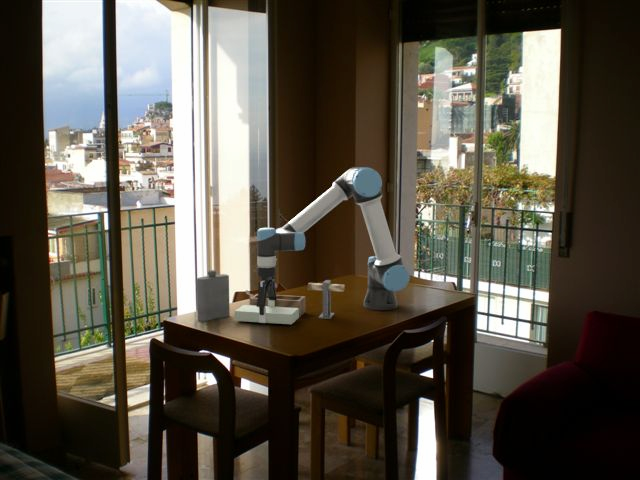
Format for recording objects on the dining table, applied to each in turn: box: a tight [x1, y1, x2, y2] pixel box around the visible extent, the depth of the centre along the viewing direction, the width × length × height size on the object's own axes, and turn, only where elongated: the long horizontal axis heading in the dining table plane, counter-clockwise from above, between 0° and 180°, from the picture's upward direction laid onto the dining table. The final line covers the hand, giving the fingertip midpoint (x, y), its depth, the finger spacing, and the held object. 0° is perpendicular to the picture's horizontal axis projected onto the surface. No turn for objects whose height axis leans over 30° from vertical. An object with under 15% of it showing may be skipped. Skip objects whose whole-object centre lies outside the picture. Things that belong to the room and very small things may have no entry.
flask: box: [196, 269, 230, 322], centre depth 286 cm, size 15×6×20 cm, turn 133°
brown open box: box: [249, 293, 306, 318], centre depth 295 cm, size 22×9×7 cm, turn 76°
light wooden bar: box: [307, 282, 346, 293], centre depth 289 cm, size 15×3×3 cm, turn 76°
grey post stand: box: [318, 279, 335, 320], centre depth 290 cm, size 5×8×15 cm, turn 166°
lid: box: [233, 304, 300, 325], centre depth 281 cm, size 24×11×4 cm, turn 76°
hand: (267, 319), depth 281 cm, fingers closed on lid, 11 cm apart
